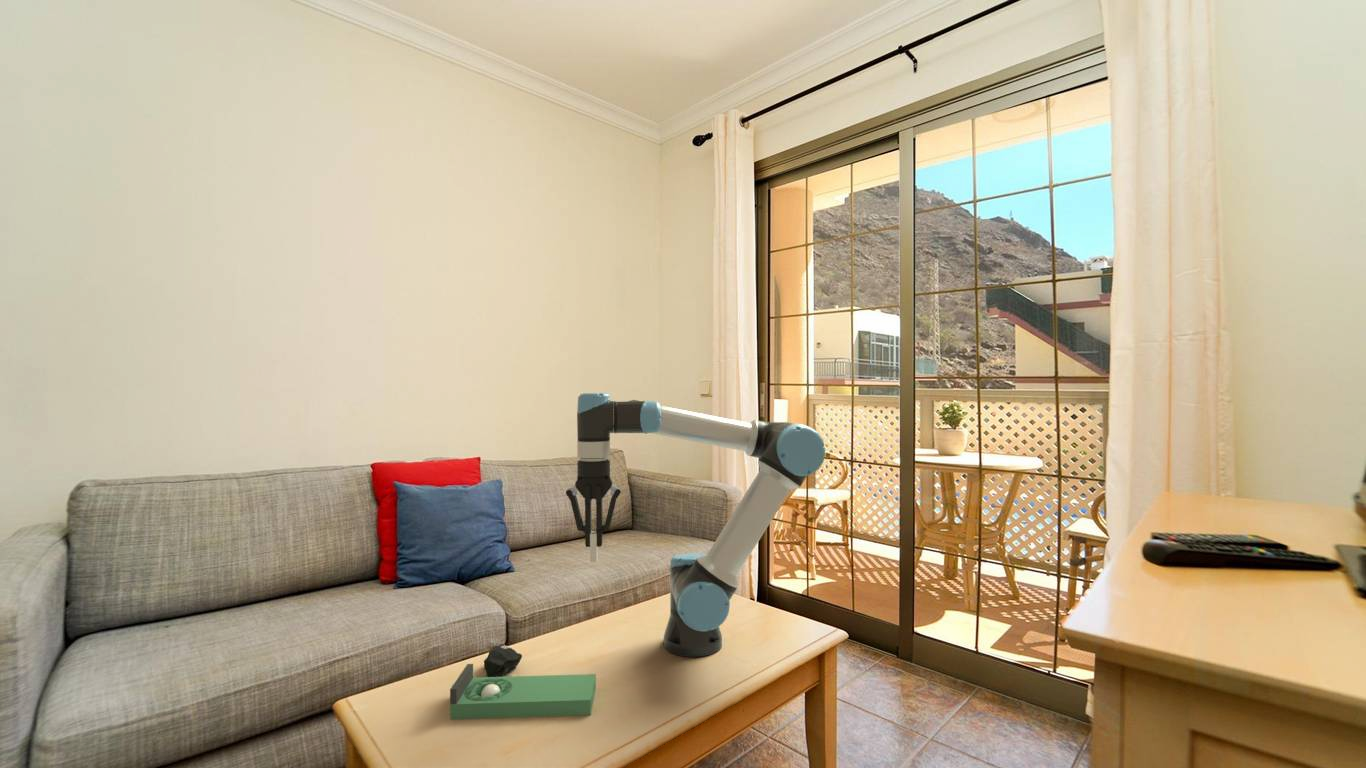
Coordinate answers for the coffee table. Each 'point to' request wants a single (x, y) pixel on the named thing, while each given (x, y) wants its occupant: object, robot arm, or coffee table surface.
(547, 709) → the green
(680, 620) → the robot arm
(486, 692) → the ball
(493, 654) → the mineral
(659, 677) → the coffee table surface
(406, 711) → the coffee table surface
